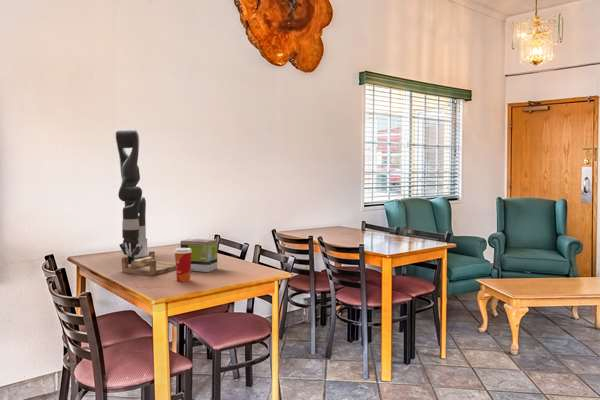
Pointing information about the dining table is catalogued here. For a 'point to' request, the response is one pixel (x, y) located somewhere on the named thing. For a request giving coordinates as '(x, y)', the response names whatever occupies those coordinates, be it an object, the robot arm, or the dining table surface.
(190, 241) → the tea box
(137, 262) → the tan curved wooden piece
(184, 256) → the paper cup
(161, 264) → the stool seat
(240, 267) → the dining table surface
